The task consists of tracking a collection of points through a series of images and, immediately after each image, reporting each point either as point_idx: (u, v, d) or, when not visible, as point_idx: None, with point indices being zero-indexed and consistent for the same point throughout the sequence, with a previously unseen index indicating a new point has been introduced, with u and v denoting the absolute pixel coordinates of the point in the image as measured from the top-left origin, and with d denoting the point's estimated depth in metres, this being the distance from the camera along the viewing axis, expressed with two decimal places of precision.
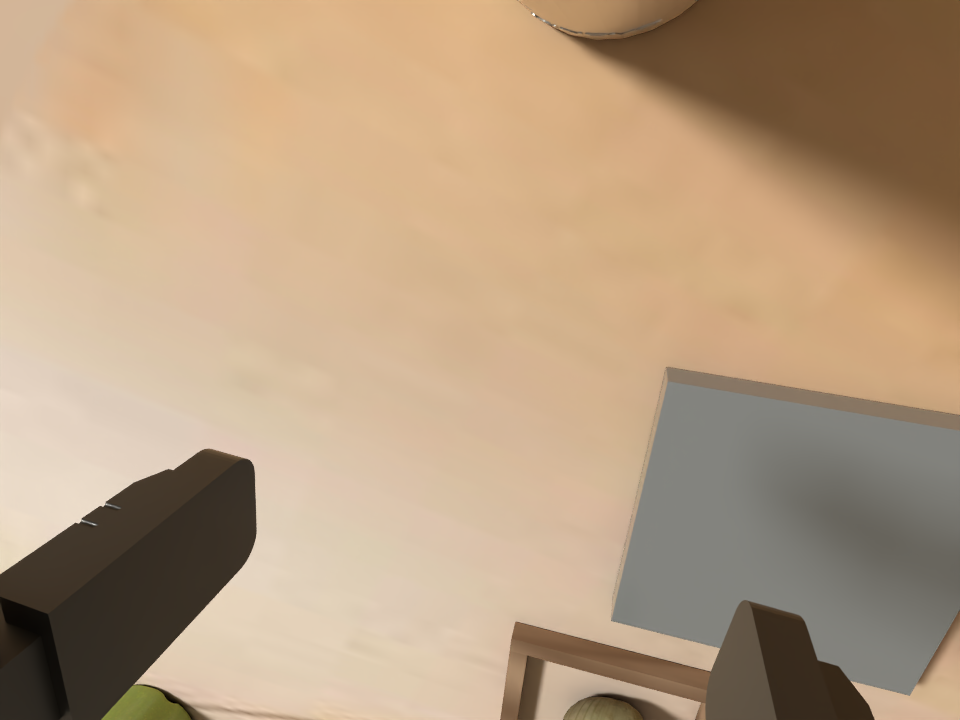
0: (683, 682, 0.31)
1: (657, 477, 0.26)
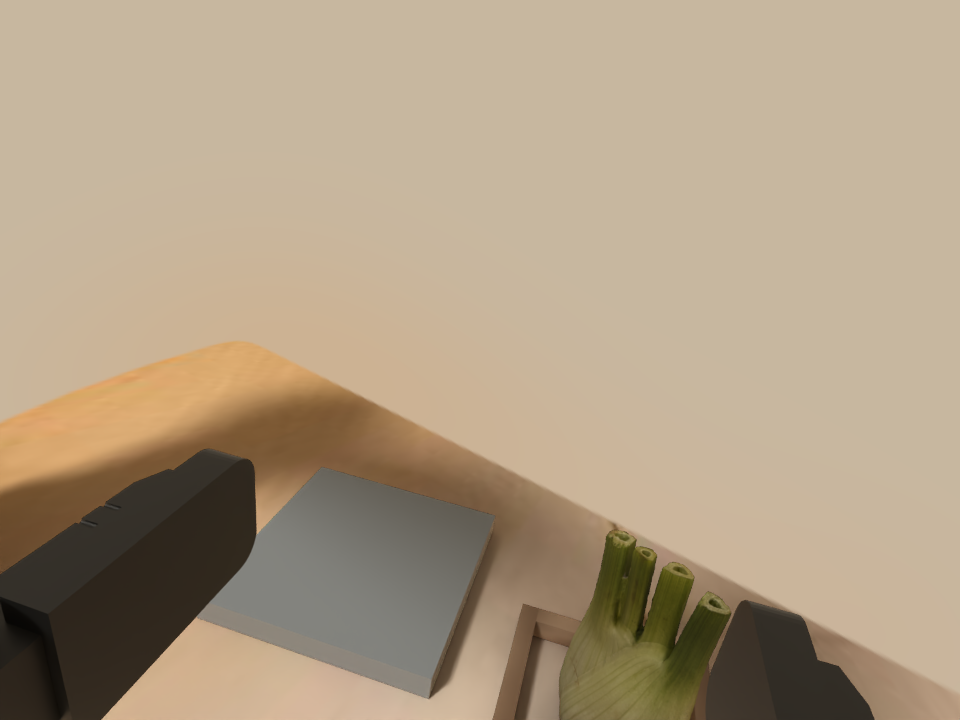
0: (514, 638, 0.33)
1: (277, 617, 0.32)
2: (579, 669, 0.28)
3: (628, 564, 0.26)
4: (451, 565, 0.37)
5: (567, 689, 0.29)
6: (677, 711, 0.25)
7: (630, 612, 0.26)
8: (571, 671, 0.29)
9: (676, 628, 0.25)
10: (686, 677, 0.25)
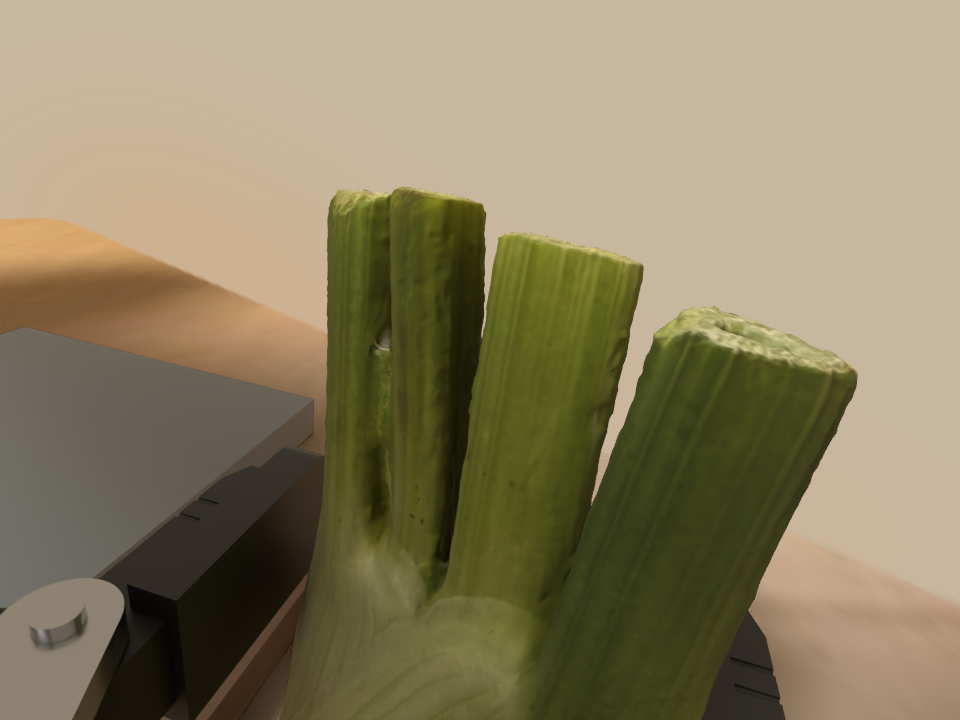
0: None
1: None
2: (289, 700, 0.08)
3: None
4: (170, 469, 0.18)
5: None
6: None
7: (403, 481, 0.07)
8: (283, 706, 0.09)
9: (571, 529, 0.06)
10: None
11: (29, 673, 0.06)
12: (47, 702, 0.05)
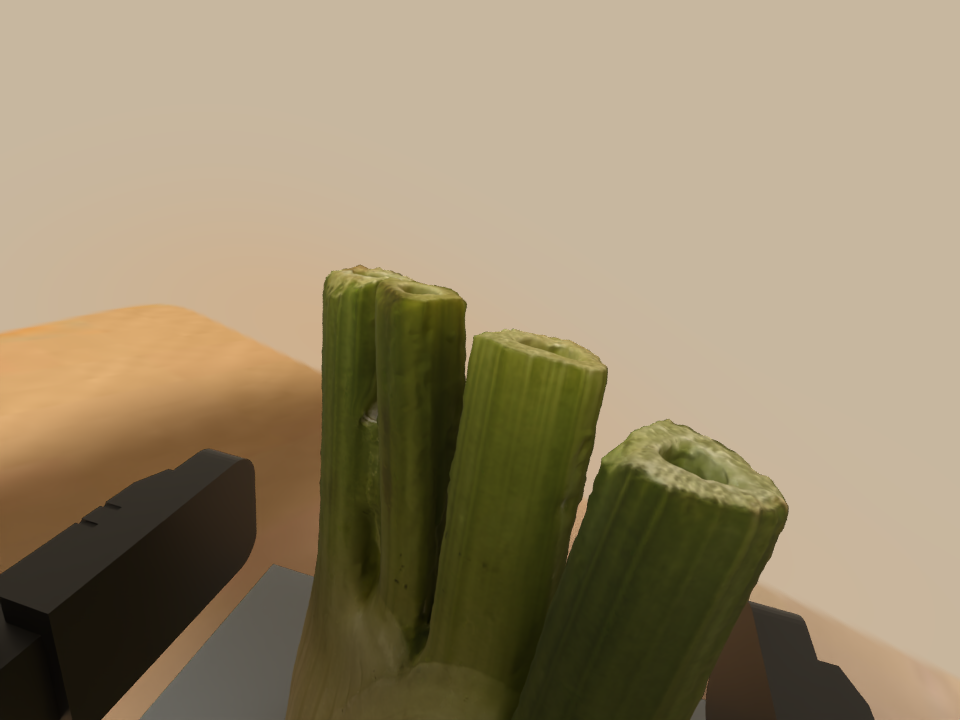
0: None
1: None
2: None
3: None
4: None
5: None
6: None
7: (389, 549, 0.07)
8: None
9: (541, 608, 0.06)
10: None
11: None
12: None
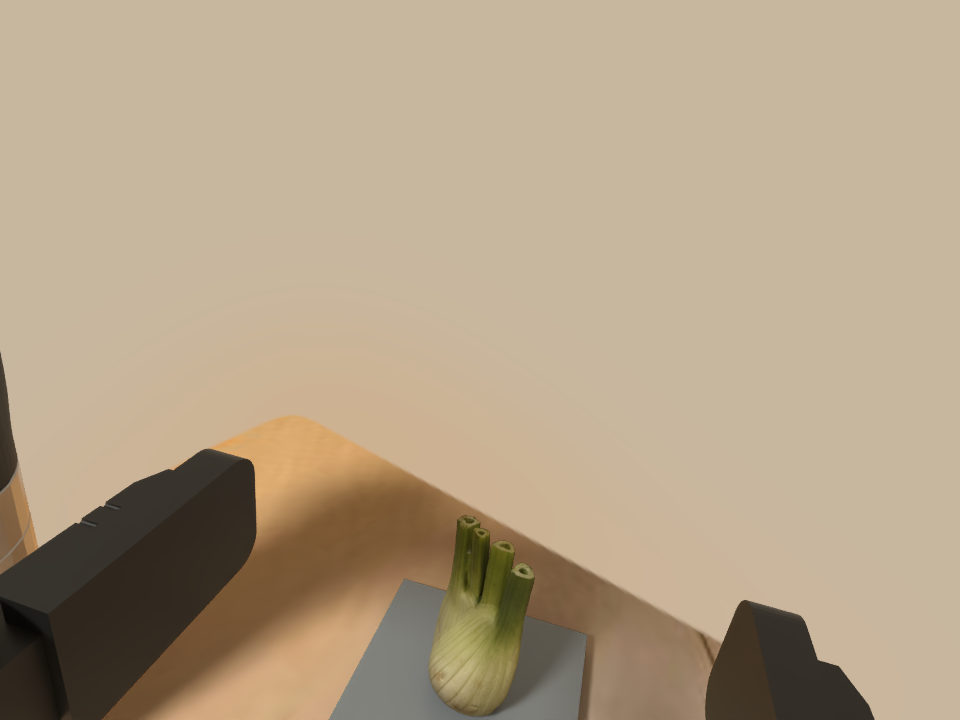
0: None
1: None
2: (441, 627, 0.35)
3: None
4: (555, 702, 0.36)
5: (434, 645, 0.35)
6: (504, 658, 0.32)
7: (473, 580, 0.33)
8: (438, 630, 0.36)
9: (504, 592, 0.32)
10: (508, 630, 0.31)
11: None
12: None
